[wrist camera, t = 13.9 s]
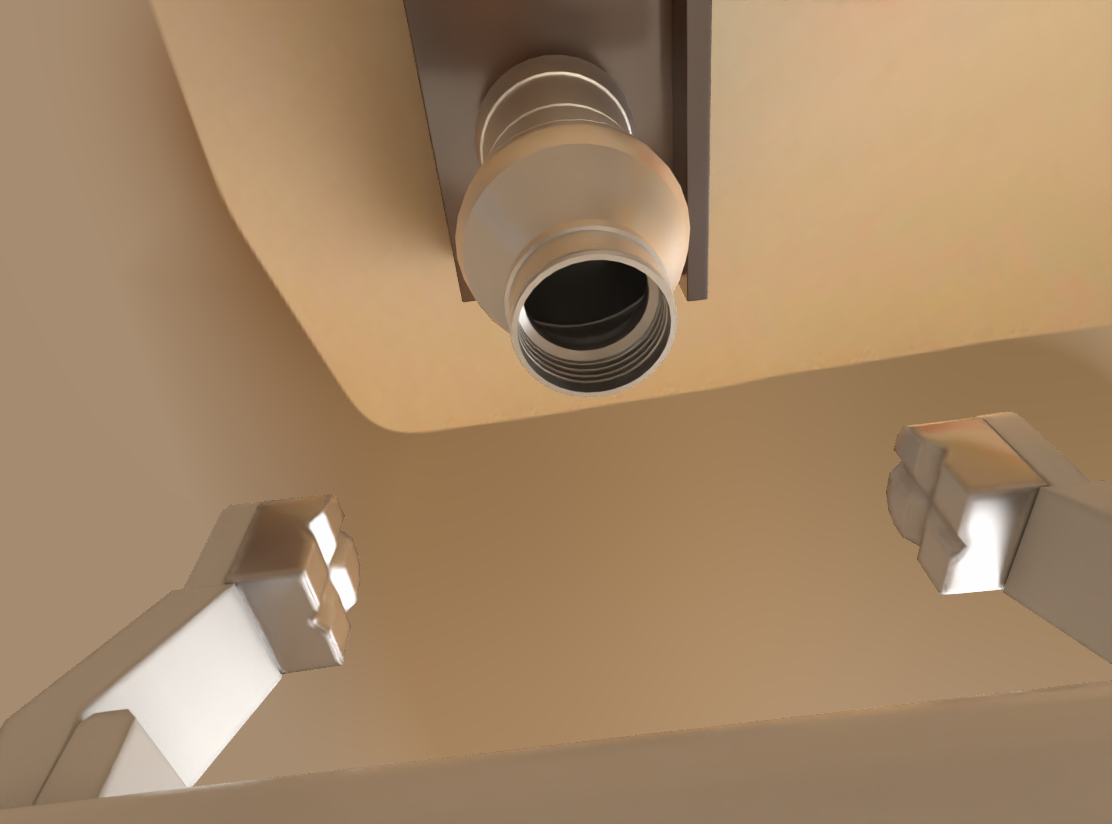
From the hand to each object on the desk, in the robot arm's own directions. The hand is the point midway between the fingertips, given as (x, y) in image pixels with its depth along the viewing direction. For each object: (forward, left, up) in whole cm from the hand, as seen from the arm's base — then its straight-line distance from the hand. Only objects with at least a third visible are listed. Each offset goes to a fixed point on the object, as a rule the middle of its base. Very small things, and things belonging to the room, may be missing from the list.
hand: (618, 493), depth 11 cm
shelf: (+1, -1, -32) cm, 32 cm away
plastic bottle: (0, 0, -26) cm, 26 cm away
